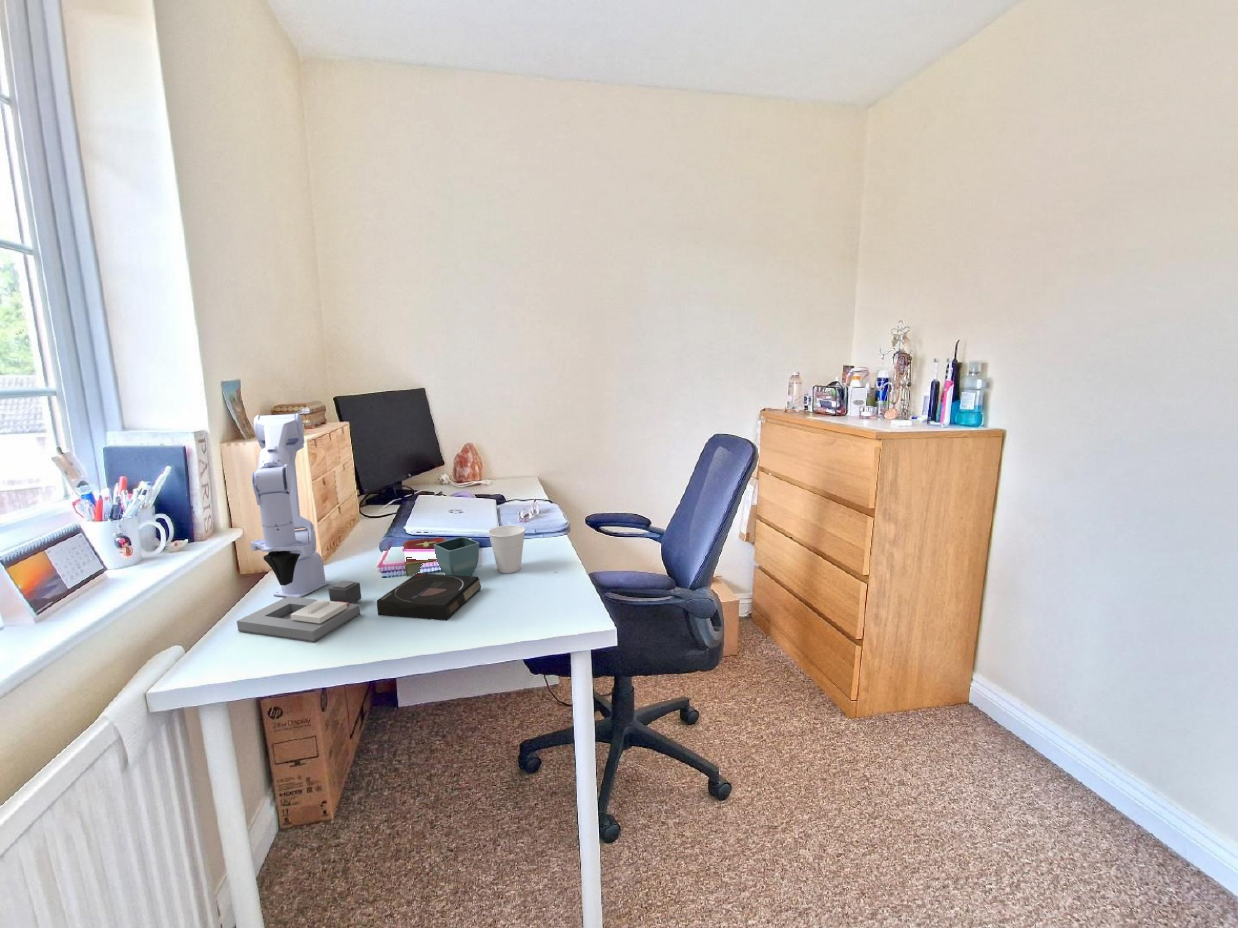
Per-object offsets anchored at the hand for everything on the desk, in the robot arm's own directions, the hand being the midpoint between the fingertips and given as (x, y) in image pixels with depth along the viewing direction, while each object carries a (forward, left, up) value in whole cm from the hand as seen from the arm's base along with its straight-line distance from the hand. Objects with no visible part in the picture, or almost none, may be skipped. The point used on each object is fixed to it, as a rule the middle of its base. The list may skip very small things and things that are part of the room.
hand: (286, 583), depth 120 cm
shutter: (0, +8, -6) cm, 10 cm away
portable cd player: (-16, +25, -10) cm, 31 cm away
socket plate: (0, +3, -9) cm, 9 cm away
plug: (-10, +6, -9) cm, 14 cm away
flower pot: (-32, +22, -9) cm, 40 cm away
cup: (-39, +33, -9) cm, 52 cm away
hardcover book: (-40, +6, -9) cm, 42 cm away
